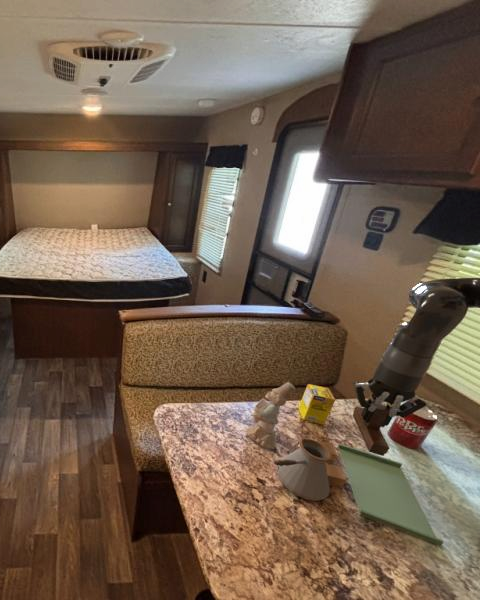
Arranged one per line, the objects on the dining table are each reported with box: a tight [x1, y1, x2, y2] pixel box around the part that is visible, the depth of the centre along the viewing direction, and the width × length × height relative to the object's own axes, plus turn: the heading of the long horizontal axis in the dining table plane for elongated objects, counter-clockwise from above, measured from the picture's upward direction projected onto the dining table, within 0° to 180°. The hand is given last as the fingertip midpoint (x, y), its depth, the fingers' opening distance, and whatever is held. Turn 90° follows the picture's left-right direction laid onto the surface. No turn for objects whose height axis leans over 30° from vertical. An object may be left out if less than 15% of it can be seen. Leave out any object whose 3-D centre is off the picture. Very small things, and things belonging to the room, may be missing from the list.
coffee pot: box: [267, 437, 332, 502], centre depth 76 cm, size 21×12×15 cm, turn 113°
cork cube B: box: [326, 463, 347, 489], centre depth 81 cm, size 4×4×4 cm
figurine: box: [245, 381, 297, 450], centre depth 91 cm, size 9×8×20 cm
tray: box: [337, 443, 444, 546], centre depth 80 cm, size 14×22×2 cm, turn 154°
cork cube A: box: [315, 439, 338, 464], centre depth 88 cm, size 4×4×4 cm
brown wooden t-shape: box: [352, 404, 390, 457], centre depth 79 cm, size 3×14×9 cm, turn 155°
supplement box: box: [298, 383, 336, 426], centre depth 101 cm, size 6×6×11 cm
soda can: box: [386, 407, 438, 451], centre depth 93 cm, size 7×7×12 cm
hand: (373, 422), depth 79 cm, fingers closed on brown wooden t-shape, 2 cm apart
